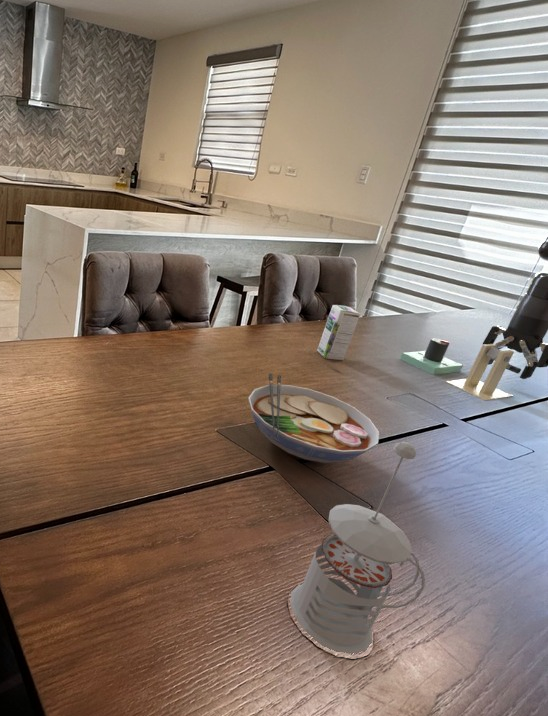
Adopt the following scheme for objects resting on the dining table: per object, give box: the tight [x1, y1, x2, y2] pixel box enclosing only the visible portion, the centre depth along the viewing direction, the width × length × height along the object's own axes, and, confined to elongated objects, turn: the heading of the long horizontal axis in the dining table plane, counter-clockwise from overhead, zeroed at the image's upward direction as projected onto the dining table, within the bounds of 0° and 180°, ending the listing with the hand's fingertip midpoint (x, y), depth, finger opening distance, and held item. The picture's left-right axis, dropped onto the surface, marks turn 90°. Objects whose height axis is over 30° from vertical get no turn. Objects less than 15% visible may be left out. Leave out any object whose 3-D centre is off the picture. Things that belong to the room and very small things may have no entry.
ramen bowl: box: [248, 372, 380, 464], centre depth 88 cm, size 25×23×8 cm
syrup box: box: [316, 304, 361, 361], centre depth 133 cm, size 6×6×14 cm
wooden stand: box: [444, 343, 515, 402], centre depth 121 cm, size 12×10×13 cm
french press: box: [290, 441, 426, 655], centre depth 51 cm, size 10×12×25 cm
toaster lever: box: [486, 347, 522, 375], centre depth 122 cm, size 12×5×2 cm, turn 113°
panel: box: [400, 350, 464, 376], centre depth 135 cm, size 12×10×3 cm
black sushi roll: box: [424, 337, 451, 362], centre depth 134 cm, size 4×4×6 cm
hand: (505, 370), depth 125 cm, fingers open, 8 cm apart
